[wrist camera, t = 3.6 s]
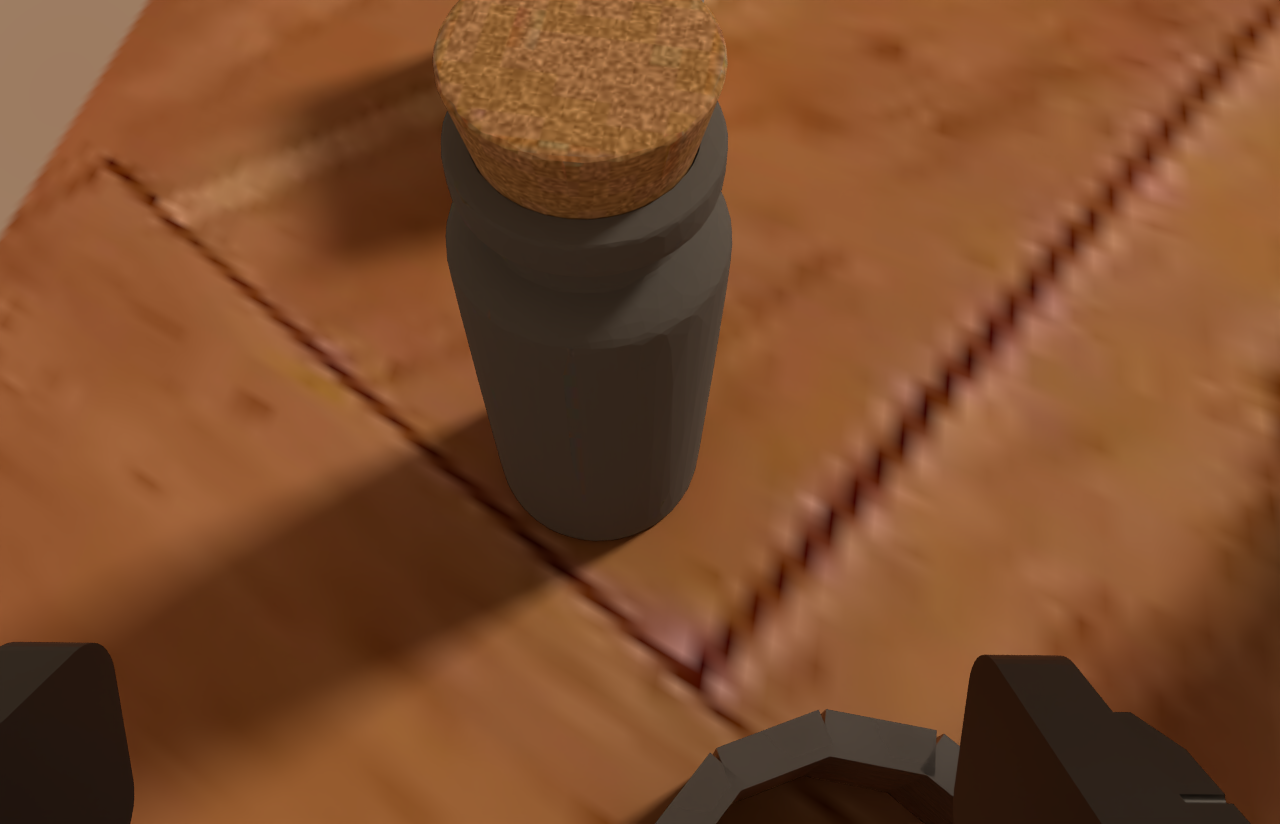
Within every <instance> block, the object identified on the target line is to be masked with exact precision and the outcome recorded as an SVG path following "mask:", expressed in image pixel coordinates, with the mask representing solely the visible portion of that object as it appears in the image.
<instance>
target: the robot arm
mask: <svg viewBox="0 0 1280 824" xmlns="http://www.w3.org/2000/svg"><path fill="white" fill-rule="evenodd" d="M133 806H134V782H133V776H132V770H131V764H130V758H129V752H128V746H127V740H126V734H125V728H124V723H123V717H122V711H121V705H120V699H119V693H118V687H117V681H116V675H115V670H114V665H113V662H112V659H111V656H110V655H109V653H108V651H107V650H106V649H105V648H104V647H103V646H102V645H100V644H97V643H60V642H11V643H7V644H5V645H2V646H0V824H130V822H131V818H132V812H133ZM953 820H954V824H1250V823H1249V821H1248V820H1247V819H1246V818H1245V817H1244V816H1243V815H1242V813H1241V812H1240V811H1239V810H1238V809H1237V808H1236V807H1235V805H1234V804H1227V803H1226V801H1225V794H1224V793H1223V792H1222V790H1221V789H1220V788H1219V787H1218V786H1217V785H1216V784H1215V782H1214V781H1213V780H1212V779H1211V778H1210V777H1209V776H1208V774H1207V773H1206V772H1205V771H1204V770H1203V769H1202V768H1201V766H1200V765H1199V764H1198V763H1197V762H1196V761H1195V760H1194V758H1193V757H1192V756H1191V755H1190V754H1189V753H1188V752H1187V750H1186V749H1184V748H1183V747H1181V746H1180V745H1178V744H1177V743H1175V742H1174V741H1172V740H1171V739H1169V738H1168V737H1166V736H1165V735H1163V734H1162V733H1160V732H1159V731H1157V730H1156V729H1154V728H1153V727H1151V726H1150V725H1148V724H1147V723H1145V722H1144V721H1143V720H1141V719H1140V718H1138V717H1137V716H1135V715H1134V714H1132V713H1131V712H1112V710H1111V709H1110V708H1109V707H1108V705H1107V704H1106V703H1105V702H1104V700H1103V699H1102V698H1101V697H1100V695H1099V694H1098V693H1097V692H1096V691H1095V689H1094V688H1093V687H1092V686H1091V684H1090V683H1089V682H1088V681H1087V679H1086V678H1085V677H1084V676H1083V674H1082V673H1081V672H1080V671H1079V669H1078V668H1077V667H1076V666H1075V664H1074V663H1073V662H1072V661H1071V660H1069V659H1068V658H1066V657H1064V656H1043V655H981V656H979V657H978V658H977V659H976V661H975V662H974V664H973V667H972V670H971V673H970V679H969V685H968V692H967V699H966V707H965V714H964V721H963V728H962V735H961V743H960V750H959V757H958V764H957V771H956V779H955V786H954V794H953Z"/></svg>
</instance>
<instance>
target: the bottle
mask: <svg viewBox="0 0 1280 824" xmlns="http://www.w3.org/2000/svg"><path fill="white" fill-rule="evenodd" d="M433 68H434V76H435V83H436V87H437V90H438V93H439V95H440V97H441V99H442V101H443V103H444V105H445V107H446V109H447V113H446V116H445V118H444V121H443V127H442V134H441V158H442V163H443V168H444V172H445V177H446V182H447V185H448V188H449V191H450V194H451V198H452V201H453V202H452V205H451V209H450V212H449V216H448V220H447V226H446V248H447V261H448V265H449V269H450V273H451V277H452V282H453V286H454V289H455V293H456V297H457V301H458V305H459V309H460V313H461V317H462V321H463V324H464V328H465V332H466V336H467V340H468V343H469V347H470V351H471V355H472V359H473V362H474V366H475V370H476V374H477V377H478V381H479V385H480V389H481V392H482V396H483V399H484V403H485V407H486V410H487V414H488V418H489V421H490V425H491V428H492V432H493V436H494V439H495V443H496V446H497V450H498V454H499V457H500V461H501V464H502V467H503V470H504V473H505V476H506V479H507V482H508V484H509V486H510V488H511V490H512V492H513V493H514V495H515V497H516V498H517V500H518V501H519V502H520V504H521V505H522V506H523V507H524V509H525V510H526V511H527V512H528V513H529V514H530V515H531V516H533V517H534V518H535V519H536V520H537V521H539V522H540V523H542V524H543V525H545V526H546V527H548V528H549V529H551V530H553V531H556V532H558V533H560V534H564V535H567V536H570V537H573V538H578V539H583V540H592V541H601V540H615V539H619V538H623V537H627V536H631V535H634V534H636V533H639V532H641V531H643V530H645V529H647V528H649V527H651V526H653V525H655V524H656V523H658V522H659V521H660V520H661V519H663V518H664V517H665V516H666V515H667V514H669V513H670V512H671V511H672V510H673V509H674V507H675V506H676V505H677V504H678V502H679V501H680V500H681V498H682V497H683V495H684V494H685V492H686V490H687V489H688V487H689V484H690V482H691V479H692V476H693V474H694V471H695V467H696V462H697V458H698V453H699V448H700V442H701V436H702V431H703V425H704V419H705V414H706V408H707V402H708V397H709V391H710V385H711V380H712V374H713V368H714V362H715V356H716V350H717V344H718V338H719V331H720V325H721V319H722V313H723V307H724V301H725V295H726V288H727V282H728V275H729V268H730V261H731V250H732V228H731V219H730V215H729V212H728V208H727V205H726V202H725V199H724V197H723V194H722V192H721V190H722V186H723V181H724V176H725V171H726V161H727V151H728V133H727V127H726V122H725V119H724V116H723V113H722V110H721V107H720V105H719V103H718V98H719V96H720V93H721V91H722V88H723V85H724V82H725V77H726V70H727V49H726V45H725V40H724V37H723V34H722V30H721V28H720V26H719V24H718V22H717V21H716V19H715V17H714V15H713V13H712V12H711V10H710V9H709V8H708V7H707V6H706V5H705V4H704V3H703V2H702V1H701V0H459V1H458V2H457V3H456V4H455V5H454V7H453V8H452V9H451V11H450V12H449V14H448V16H447V17H446V19H445V20H444V22H443V24H442V25H441V27H440V29H439V33H438V36H437V39H436V42H435V45H434V52H433Z"/></svg>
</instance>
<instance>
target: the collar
mask: <svg viewBox="0 0 1280 824" xmlns="http://www.w3.org/2000/svg"><path fill="white" fill-rule="evenodd" d="M936 733H937V730H932V729H927V728H922V727H917V726H911V725H906V724H901V723H896V722H891V721H885V720H880V719H875V718H870V717H864V716H859V715H854V714H849V713H844V712H838V711H833V710H828V709H826V710H825V711H824V712H823V713H822V714H820V712H819V710H817V711H814V712H811V713H809V714H806V715H803V716H801V717H798V718H795V719H793V720H790V721H787V722H785V723H782V724H779V725H777V726H774V727H771V728H769V729H766V730H763V731H761V732H758V733H755V734H753V735H750V736H747V737H745V738H742V739H739V740H737V741H734V742H731V743H729V744H726V745H723V746H721V747H718V748H716V750H715V751H714V753H713V755H712V754H711V753H710V754H709V755H708V756H707V757H706V759H705V760H704V761H703V763H702V764H701V765H700V766H699V768H698V769H697V770H696V772H695V773H694V774H693V775H692V777H691V778H690V779H689V781H688V782H687V783H686V784H685V786H684V787H683V788H682V790H681V791H680V792H679V793H678V795H677V796H676V797H675V799H674V800H673V801H672V802H671V804H670V805H669V806H668V808H667V809H666V810H665V811H664V813H663V814H662V815H661V817H660V818H659V819H658V820H657V822H656V823H655V824H716V823H717V822H718V820H719V819H720V818H721V816H722V815H723V814H724V812H725V811H726V810H727V808H728V807H729V806H730V804H732V803H734V802H737V801H740V800H742V799H745V798H747V797H750V796H752V795H755V794H758V793H760V792H763V791H765V790H768V789H771V788H773V787H776V786H778V785H781V784H783V783H786V782H789V781H791V780H794V779H796V778H799V777H802V776H807V777H812V778H817V779H822V780H827V781H832V782H837V783H842V784H847V785H852V786H858V787H863V788H868V789H873V790H878V791H883V792H888V793H889V794H890V795H891V796H892V797H894V798H895V799H896V800H897V801H898V802H900V803H901V804H902V805H903V806H904V807H906V808H907V809H908V810H909V811H910V812H912V813H913V814H914V815H915V816H916V817H918V818H919V819H920V820H921V821H922V822H924V823H925V824H954V820H953V794H954V786H955V779H956V771H957V764H958V757H959V750H960V746H959V745H957V744H956V743H955V742H954V741H952V740H951V739H950V738H949V737H947V736H946V735H945V734H943V735H941V736H939V737H937V738H936Z"/></svg>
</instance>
